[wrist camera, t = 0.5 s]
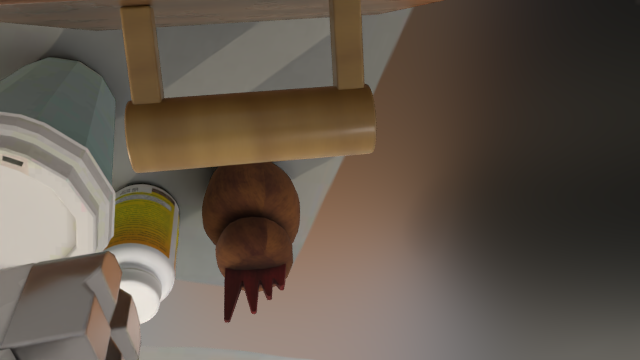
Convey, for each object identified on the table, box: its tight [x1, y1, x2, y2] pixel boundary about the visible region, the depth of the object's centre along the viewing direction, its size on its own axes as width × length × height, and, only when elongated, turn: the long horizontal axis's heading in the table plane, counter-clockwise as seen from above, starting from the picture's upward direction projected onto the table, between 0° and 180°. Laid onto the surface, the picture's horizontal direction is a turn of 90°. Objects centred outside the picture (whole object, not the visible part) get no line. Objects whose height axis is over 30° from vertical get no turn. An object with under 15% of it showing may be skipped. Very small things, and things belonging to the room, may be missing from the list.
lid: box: [0, 0, 443, 173], centre depth 21 cm, size 18×14×5 cm
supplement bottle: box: [102, 184, 180, 324], centre depth 42 cm, size 6×6×10 cm
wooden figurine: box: [202, 162, 300, 322], centre depth 40 cm, size 7×6×15 cm
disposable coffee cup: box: [0, 57, 116, 269], centre depth 35 cm, size 11×11×15 cm
